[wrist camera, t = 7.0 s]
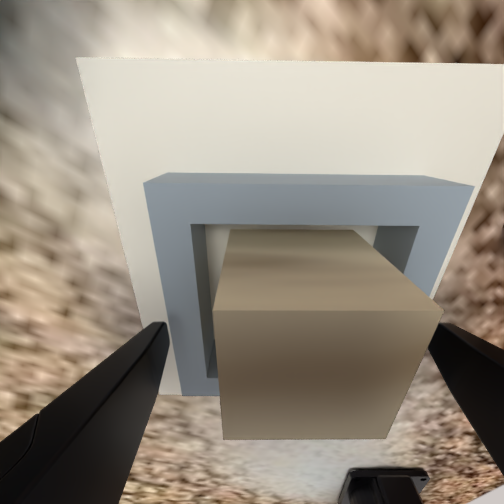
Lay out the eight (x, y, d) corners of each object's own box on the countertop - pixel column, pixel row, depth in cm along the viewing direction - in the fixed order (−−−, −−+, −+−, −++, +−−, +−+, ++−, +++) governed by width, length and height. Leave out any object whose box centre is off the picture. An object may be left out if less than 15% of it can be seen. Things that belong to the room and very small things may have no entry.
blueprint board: (385, 382, 15) (415, 436, 12) (163, 382, 15) (144, 436, 12) (507, 71, 8) (638, 37, 5) (91, 64, 8) (7, 25, 5)
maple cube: (333, 324, 12) (385, 439, 7) (233, 323, 12) (223, 439, 7) (353, 229, 10) (444, 310, 5) (230, 229, 10) (212, 310, 5)
